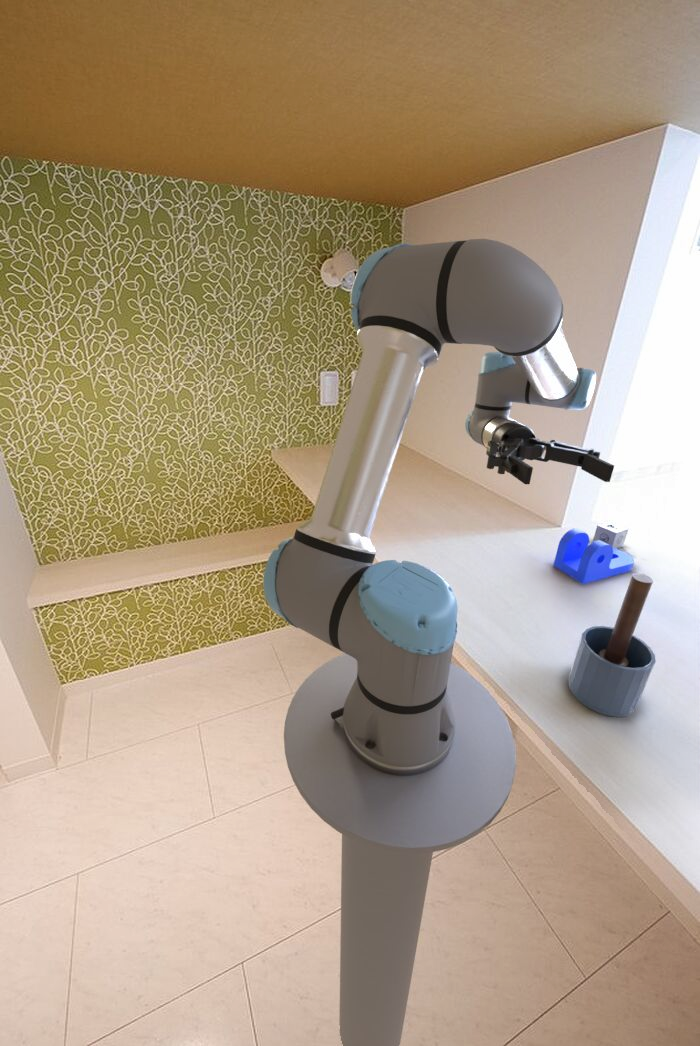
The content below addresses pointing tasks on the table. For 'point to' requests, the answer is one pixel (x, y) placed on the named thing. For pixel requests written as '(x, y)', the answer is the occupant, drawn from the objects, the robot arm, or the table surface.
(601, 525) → the dice cube
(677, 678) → the table surface
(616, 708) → the blue faceted pencil cup
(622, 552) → the bracket
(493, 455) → the robot arm
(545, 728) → the table surface
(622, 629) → the muddler
